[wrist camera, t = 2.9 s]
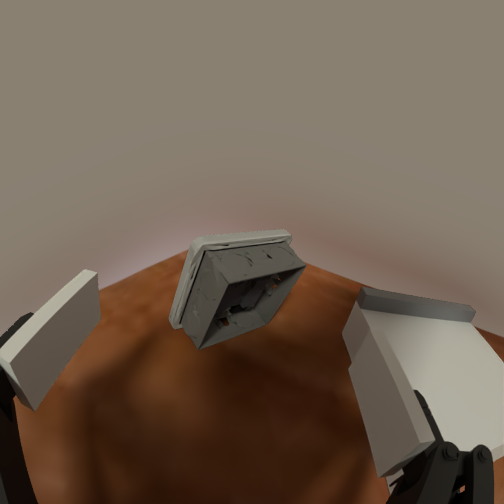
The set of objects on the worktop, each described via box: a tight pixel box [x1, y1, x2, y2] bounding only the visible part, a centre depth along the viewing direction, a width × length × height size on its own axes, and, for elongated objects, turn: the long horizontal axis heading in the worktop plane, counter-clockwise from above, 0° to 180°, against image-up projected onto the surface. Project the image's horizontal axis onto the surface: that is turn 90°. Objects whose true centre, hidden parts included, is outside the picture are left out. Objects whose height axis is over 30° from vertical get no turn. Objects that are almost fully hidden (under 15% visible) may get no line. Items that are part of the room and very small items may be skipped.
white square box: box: [342, 287, 504, 495], centre depth 17 cm, size 16×18×6 cm
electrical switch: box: [169, 229, 306, 350], centre depth 22 cm, size 9×5×9 cm, turn 131°
